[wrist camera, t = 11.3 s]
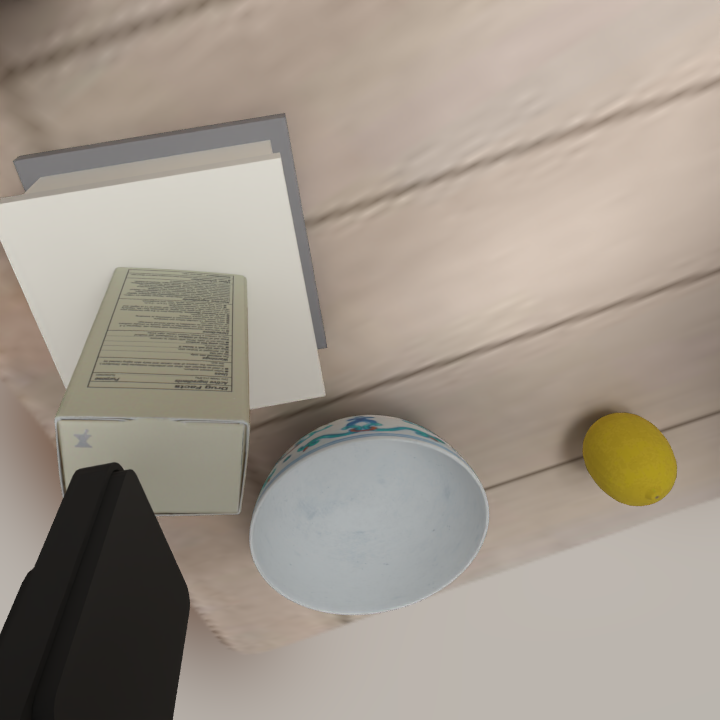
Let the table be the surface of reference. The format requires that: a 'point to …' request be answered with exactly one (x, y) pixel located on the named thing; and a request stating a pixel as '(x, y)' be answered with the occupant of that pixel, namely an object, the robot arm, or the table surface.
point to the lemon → (629, 459)
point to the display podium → (173, 238)
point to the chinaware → (367, 517)
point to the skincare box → (164, 390)
